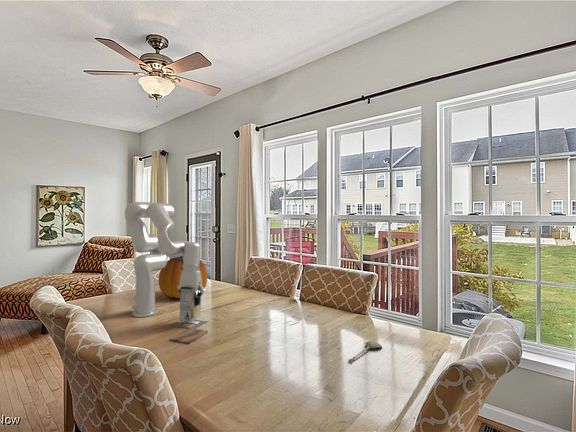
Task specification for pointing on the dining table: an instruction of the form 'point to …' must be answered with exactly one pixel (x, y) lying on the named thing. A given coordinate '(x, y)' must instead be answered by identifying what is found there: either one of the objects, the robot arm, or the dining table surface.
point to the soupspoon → (369, 345)
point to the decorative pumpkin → (176, 276)
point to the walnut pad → (188, 335)
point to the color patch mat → (191, 324)
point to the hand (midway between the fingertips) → (190, 303)
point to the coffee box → (188, 305)
